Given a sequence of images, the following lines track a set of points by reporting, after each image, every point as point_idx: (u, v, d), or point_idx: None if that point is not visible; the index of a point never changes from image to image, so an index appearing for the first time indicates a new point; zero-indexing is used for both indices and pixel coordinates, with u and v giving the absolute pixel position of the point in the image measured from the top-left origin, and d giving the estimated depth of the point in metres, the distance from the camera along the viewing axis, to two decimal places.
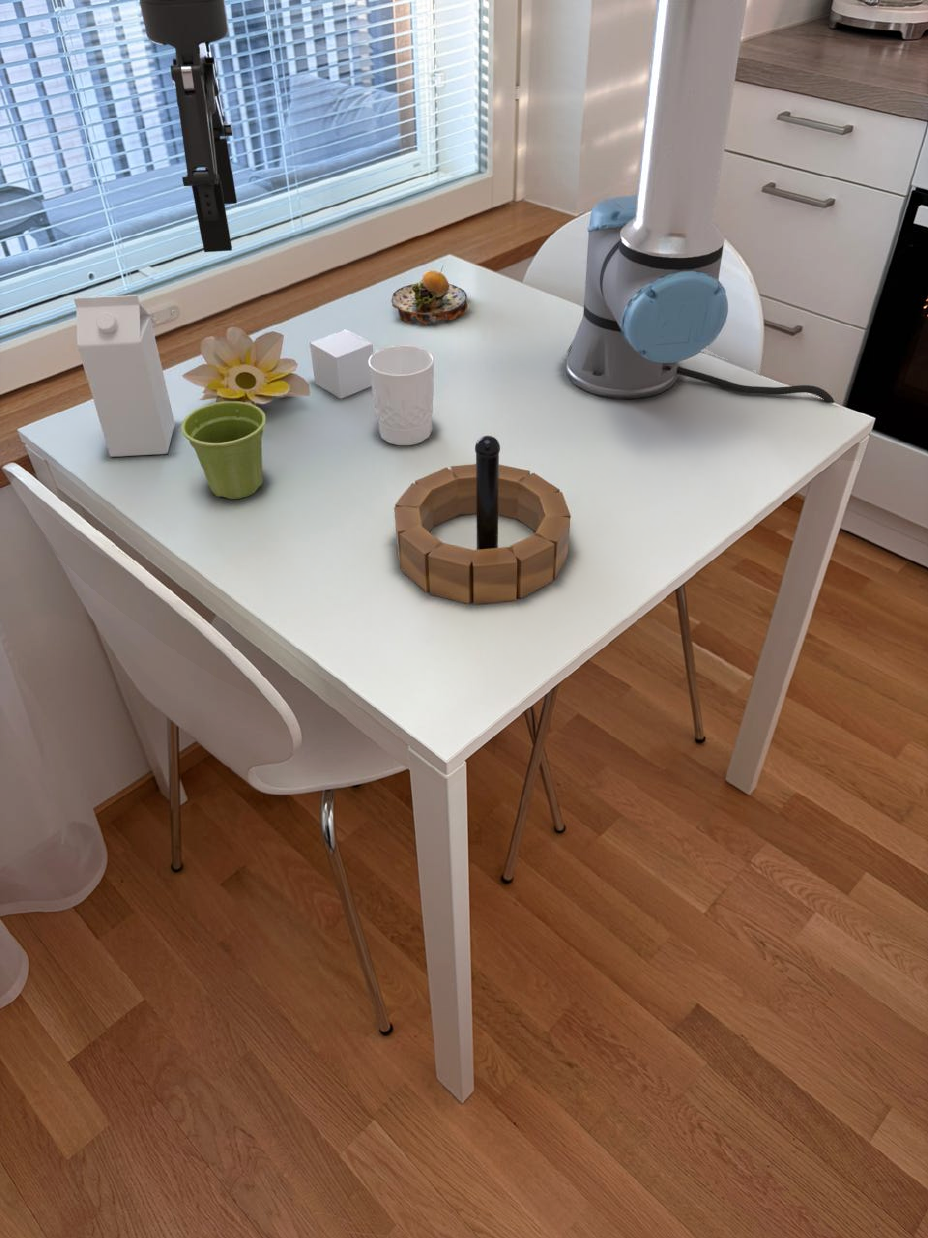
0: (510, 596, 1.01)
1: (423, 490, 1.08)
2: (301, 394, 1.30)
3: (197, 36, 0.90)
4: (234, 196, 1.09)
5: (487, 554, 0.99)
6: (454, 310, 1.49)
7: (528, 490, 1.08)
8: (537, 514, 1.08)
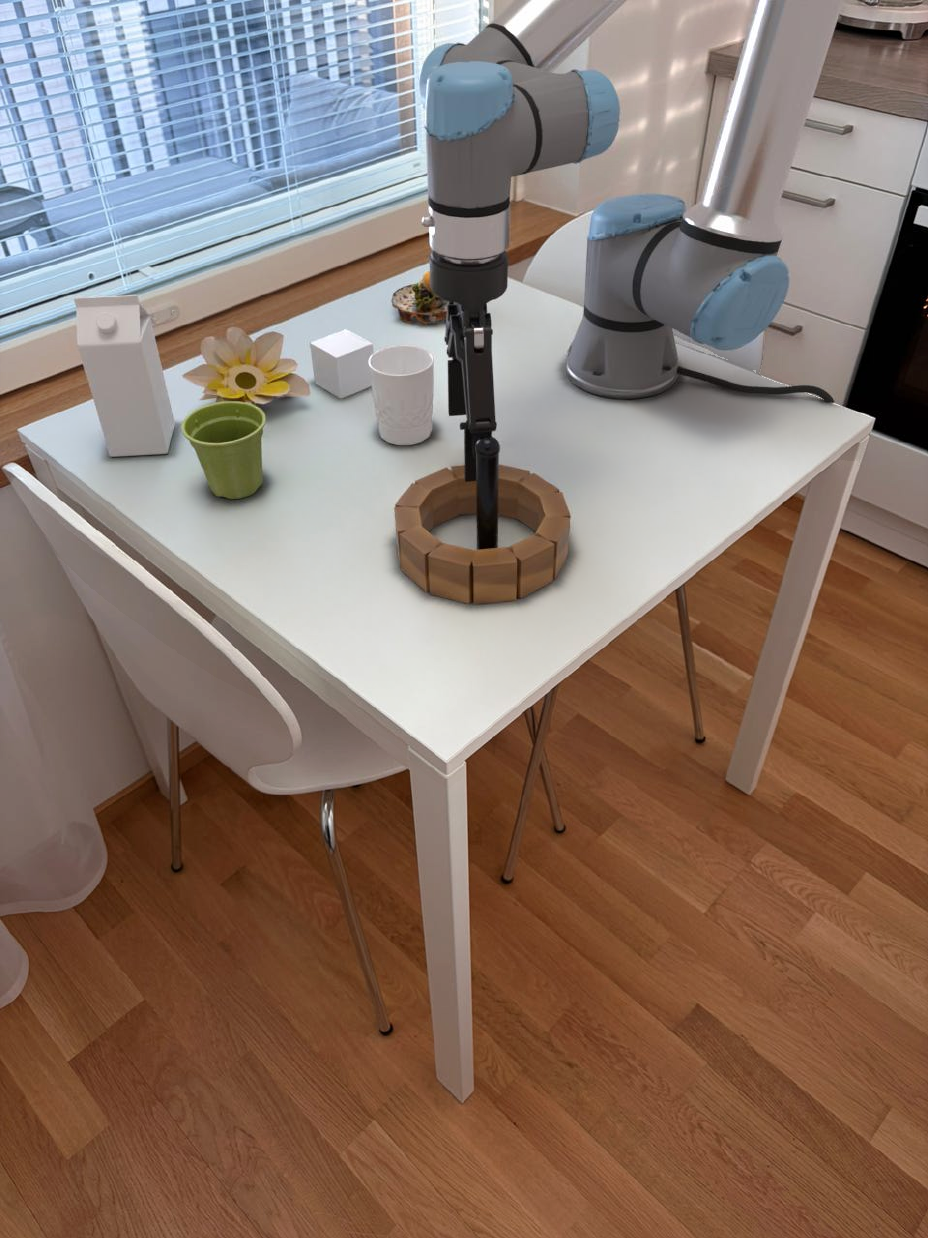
0: (510, 596, 1.01)
1: (423, 490, 1.08)
2: (301, 394, 1.30)
3: (486, 296, 0.93)
4: None
5: (487, 554, 0.99)
6: None
7: (528, 490, 1.08)
8: (537, 514, 1.08)
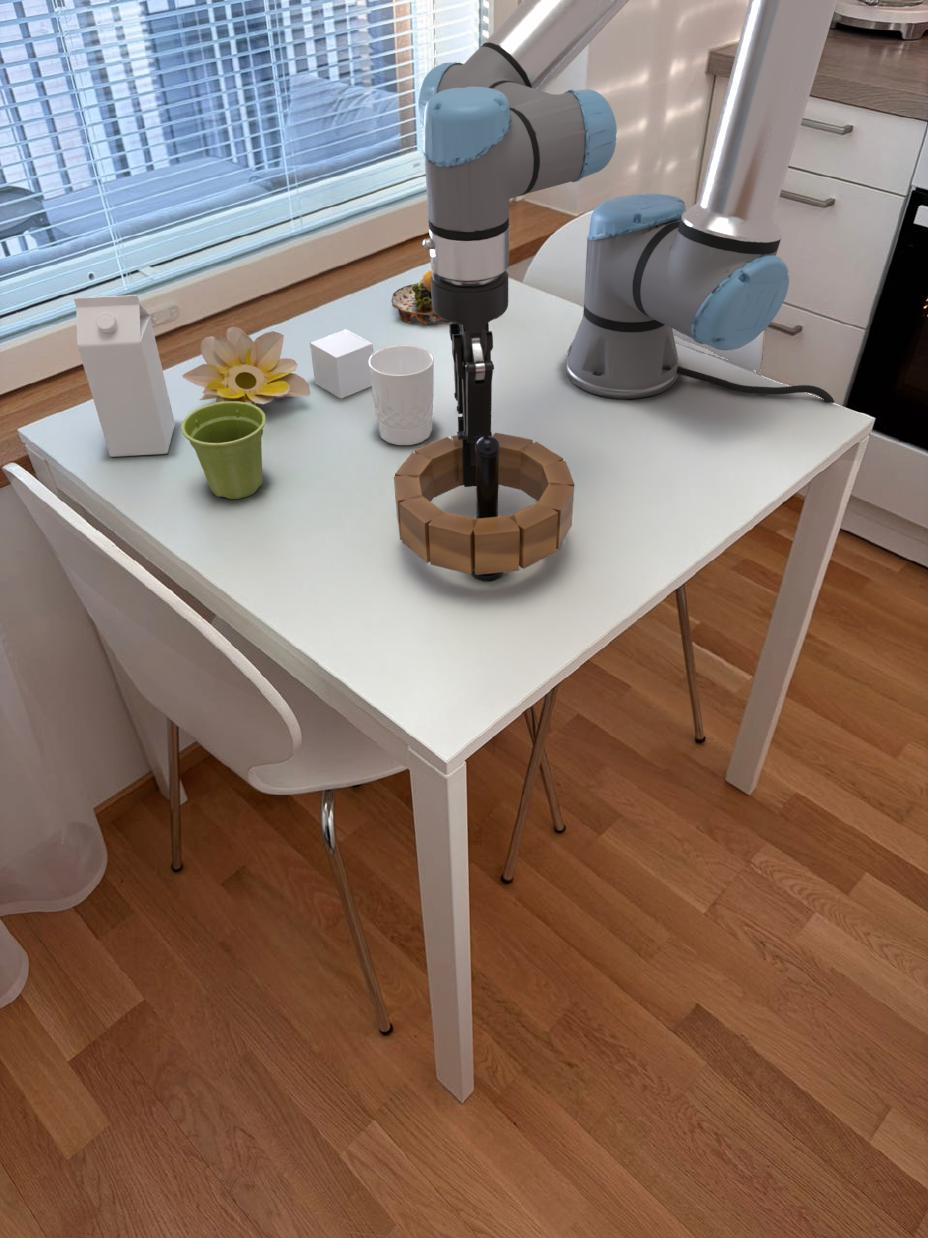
0: (512, 566, 0.98)
1: (424, 459, 1.05)
2: (301, 394, 1.30)
3: (487, 316, 0.95)
4: None
5: (489, 523, 0.96)
6: None
7: (530, 459, 1.05)
8: (540, 484, 1.06)
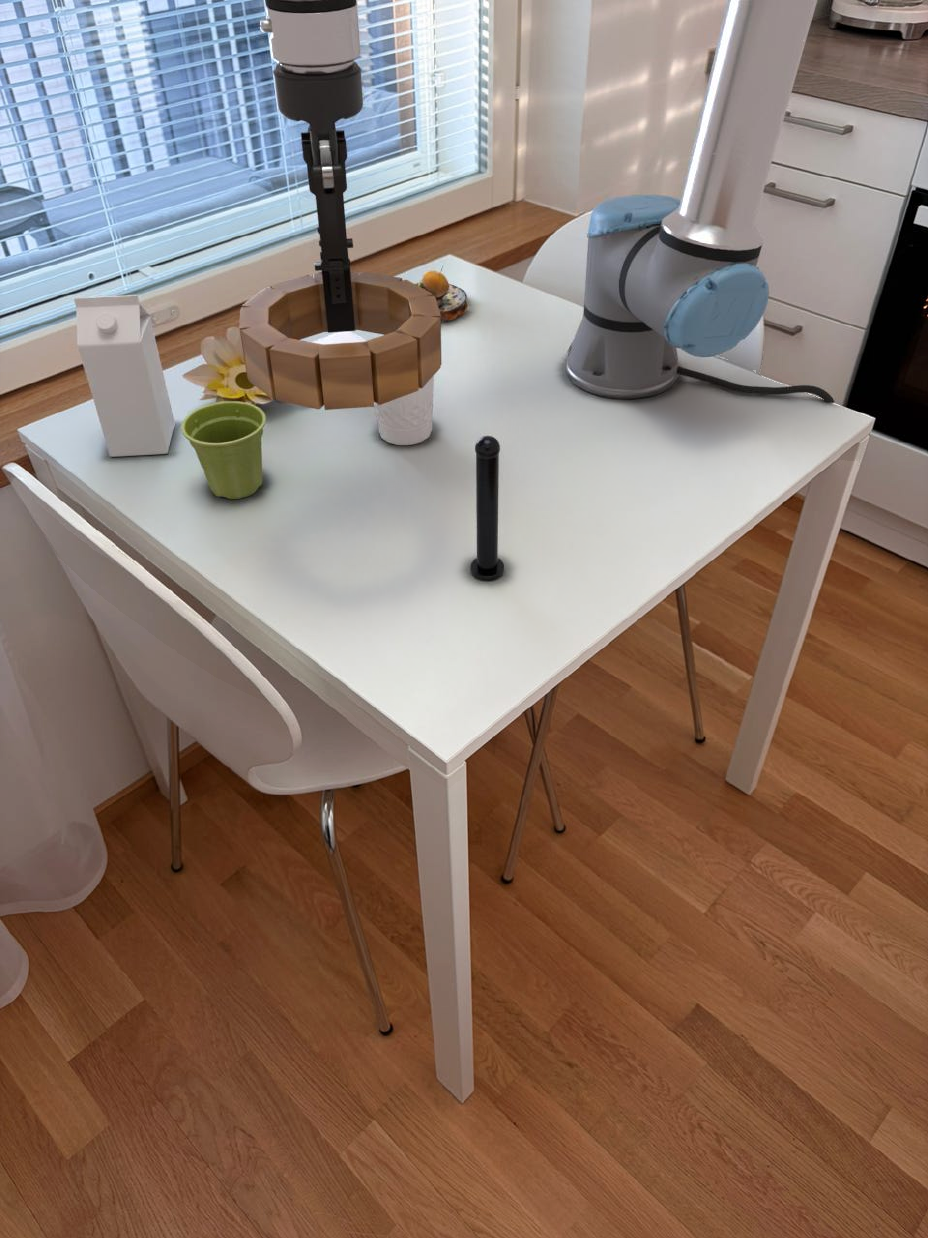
0: (366, 401, 0.88)
1: (278, 293, 0.94)
2: None
3: (335, 113, 0.84)
4: None
5: (337, 348, 0.86)
6: (454, 310, 1.49)
7: (397, 294, 0.95)
8: None
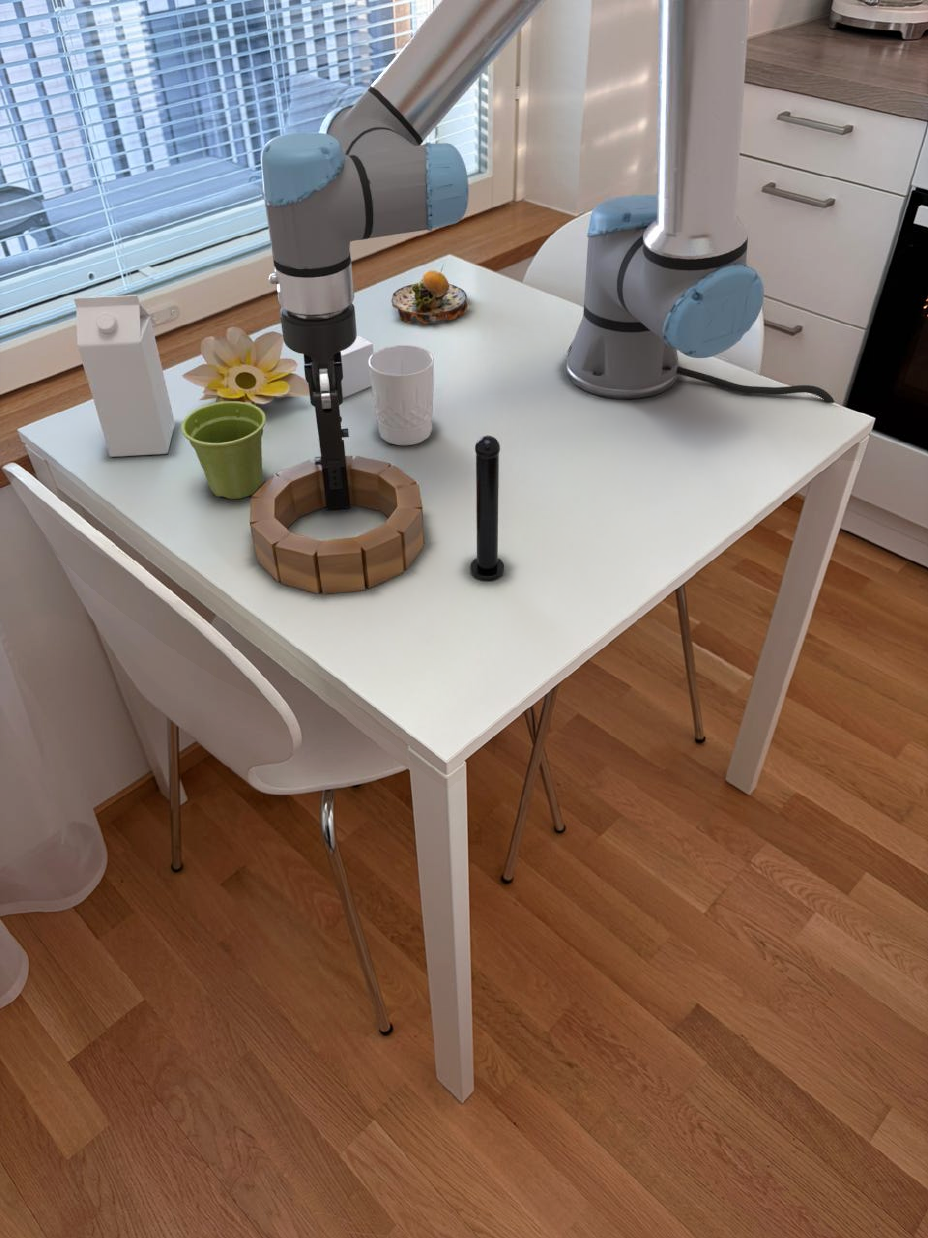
0: (358, 586, 1.02)
1: (283, 482, 1.09)
2: (301, 394, 1.30)
3: (332, 348, 0.99)
4: None
5: (333, 544, 1.00)
6: (454, 310, 1.49)
7: (385, 482, 1.09)
8: (395, 506, 1.10)
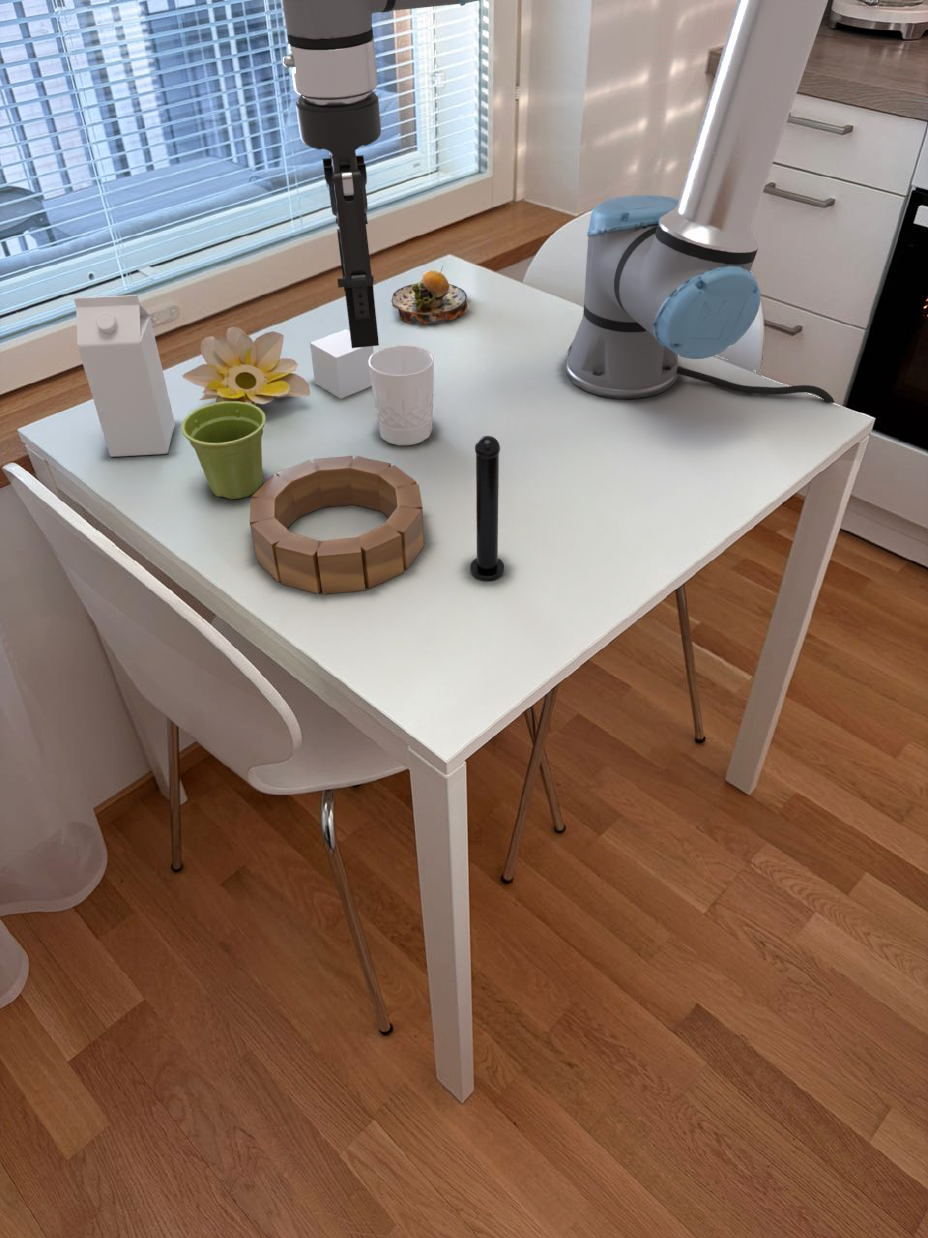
0: (358, 586, 1.02)
1: (283, 482, 1.09)
2: (301, 394, 1.30)
3: (355, 141, 0.89)
4: None
5: (333, 545, 1.00)
6: (454, 310, 1.49)
7: (385, 482, 1.09)
8: (395, 506, 1.10)
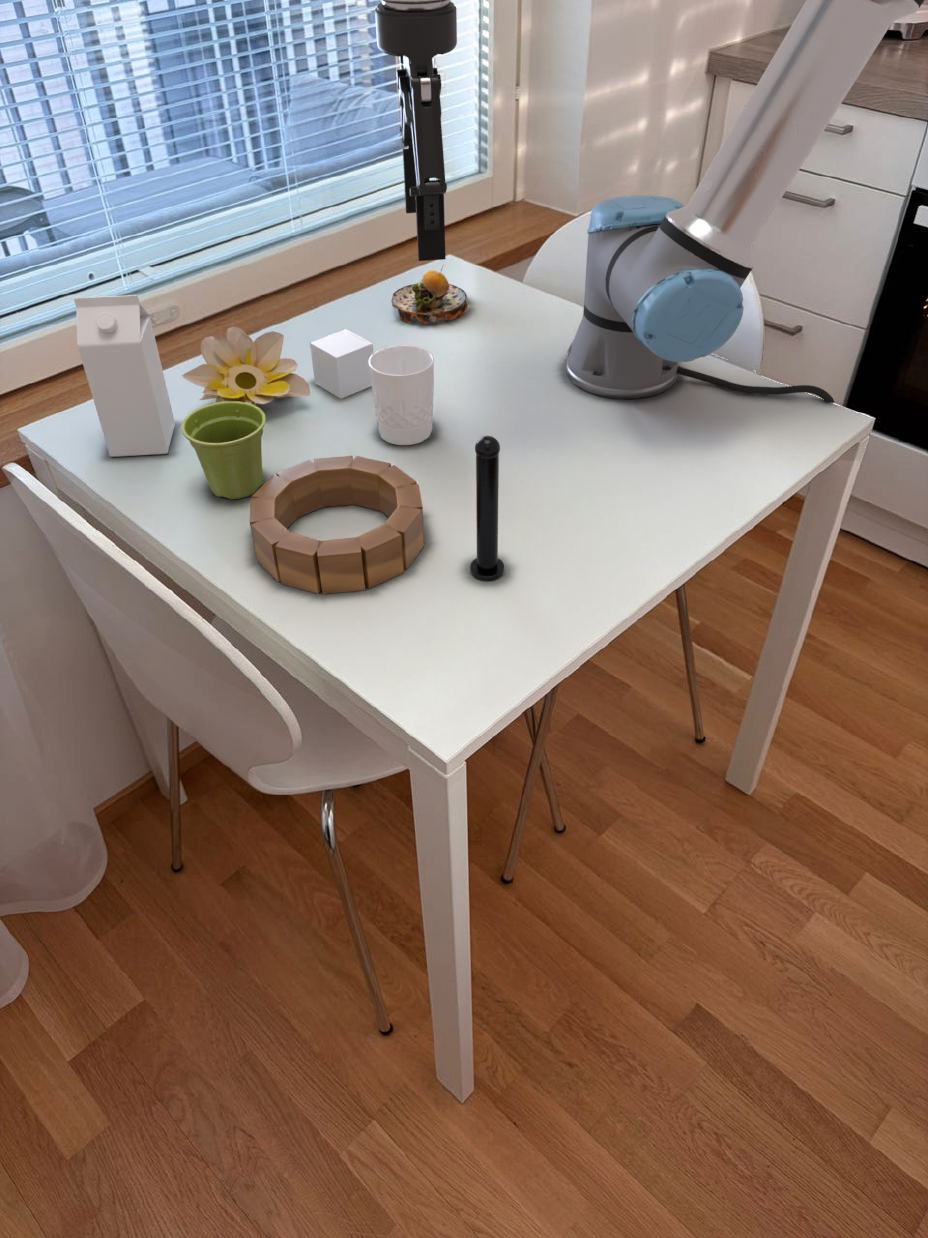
0: (358, 586, 1.02)
1: (283, 482, 1.09)
2: (301, 394, 1.30)
3: (433, 48, 0.90)
4: None
5: (333, 545, 1.00)
6: (454, 310, 1.49)
7: (385, 482, 1.09)
8: (395, 506, 1.10)
